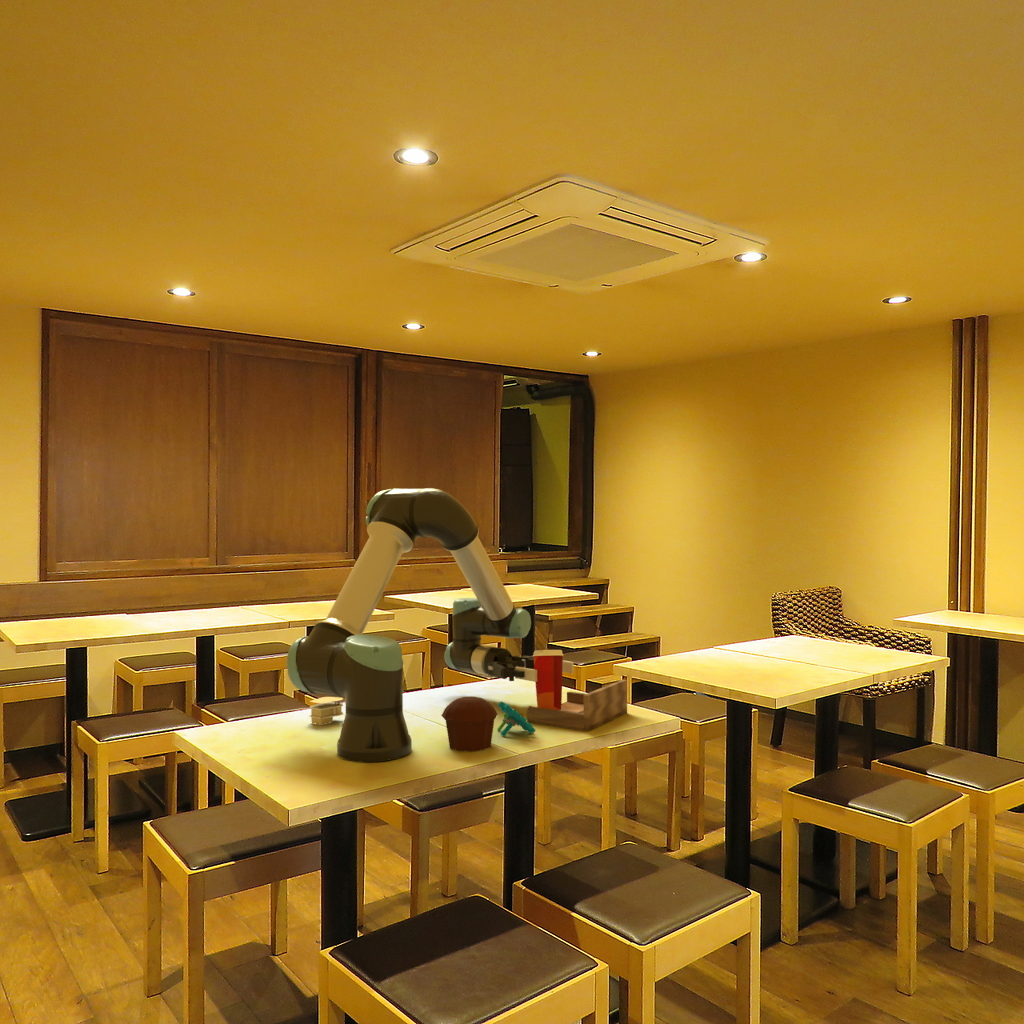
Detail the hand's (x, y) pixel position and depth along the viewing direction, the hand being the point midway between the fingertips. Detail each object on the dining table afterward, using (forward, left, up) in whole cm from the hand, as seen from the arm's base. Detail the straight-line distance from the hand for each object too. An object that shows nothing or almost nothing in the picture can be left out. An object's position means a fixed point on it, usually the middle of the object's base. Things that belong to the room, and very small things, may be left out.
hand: (555, 671), depth 208 cm
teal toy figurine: (-21, -2, -10) cm, 23 cm away
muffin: (-34, +1, -10) cm, 35 cm away
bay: (-1, -7, -10) cm, 12 cm away
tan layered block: (-34, +42, -11) cm, 55 cm away
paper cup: (-4, -1, -8) cm, 10 cm away
